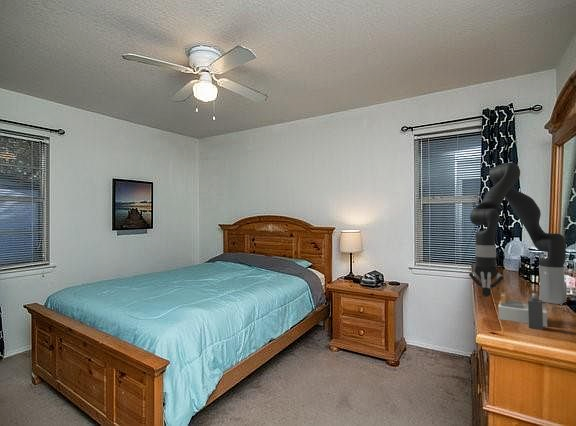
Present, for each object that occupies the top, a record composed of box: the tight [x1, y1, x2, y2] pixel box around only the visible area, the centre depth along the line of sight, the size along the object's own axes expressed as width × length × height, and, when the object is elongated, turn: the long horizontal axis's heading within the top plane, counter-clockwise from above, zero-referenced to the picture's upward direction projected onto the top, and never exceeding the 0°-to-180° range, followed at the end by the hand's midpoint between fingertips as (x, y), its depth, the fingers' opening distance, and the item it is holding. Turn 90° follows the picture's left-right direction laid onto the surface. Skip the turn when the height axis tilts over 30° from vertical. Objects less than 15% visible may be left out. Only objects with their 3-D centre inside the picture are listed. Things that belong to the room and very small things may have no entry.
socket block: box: [498, 300, 548, 327], centre depth 123 cm, size 10×15×5 cm, turn 53°
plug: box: [527, 292, 544, 331], centre depth 114 cm, size 4×4×12 cm
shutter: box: [500, 292, 523, 308], centre depth 125 cm, size 7×7×4 cm
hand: (486, 296), depth 131 cm, fingers closed
